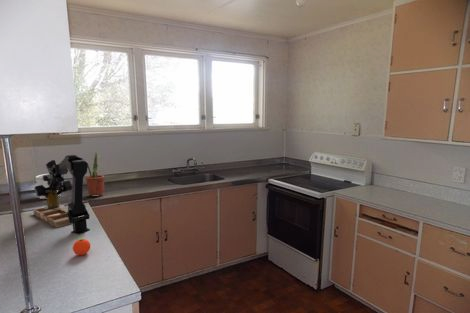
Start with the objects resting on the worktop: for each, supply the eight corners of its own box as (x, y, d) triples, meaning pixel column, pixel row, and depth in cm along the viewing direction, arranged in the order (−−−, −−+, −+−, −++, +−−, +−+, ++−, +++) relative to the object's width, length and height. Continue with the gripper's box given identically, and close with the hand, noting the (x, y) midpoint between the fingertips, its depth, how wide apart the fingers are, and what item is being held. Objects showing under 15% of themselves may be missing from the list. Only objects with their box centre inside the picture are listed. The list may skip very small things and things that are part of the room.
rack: (78, 221, 171) (78, 216, 170) (55, 227, 162) (55, 222, 161) (54, 209, 194) (54, 205, 194) (33, 214, 185) (33, 209, 185)
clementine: (70, 254, 130) (68, 238, 129) (86, 248, 135) (84, 234, 134) (77, 259, 125) (75, 243, 124) (93, 253, 130) (92, 238, 129)
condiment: (53, 205, 181) (51, 186, 180) (65, 205, 180) (63, 186, 178) (43, 209, 174) (41, 189, 173) (55, 209, 173) (53, 189, 171)
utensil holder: (36, 201, 215) (33, 178, 212) (40, 196, 228) (37, 174, 226) (59, 198, 221) (57, 175, 218) (62, 194, 234) (59, 172, 232)
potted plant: (104, 192, 236) (100, 149, 231) (107, 196, 223) (104, 151, 218) (80, 196, 227) (75, 151, 222) (82, 200, 214) (77, 153, 209)
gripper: (68, 167, 179) (63, 183, 187) (33, 172, 165) (29, 189, 173) (75, 181, 175) (69, 196, 184) (39, 187, 161) (35, 204, 169)
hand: (51, 196), depth 177 cm, fingers closed on condiment, 6 cm apart
